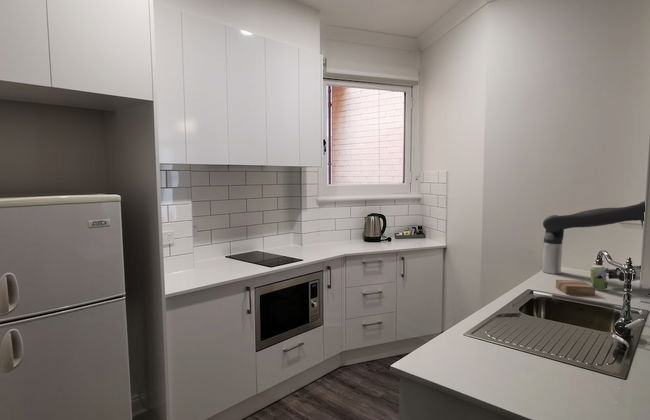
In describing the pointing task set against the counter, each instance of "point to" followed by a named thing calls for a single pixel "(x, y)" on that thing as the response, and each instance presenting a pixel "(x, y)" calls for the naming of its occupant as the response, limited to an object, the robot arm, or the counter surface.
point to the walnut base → (575, 287)
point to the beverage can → (598, 277)
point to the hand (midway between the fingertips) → (601, 274)
